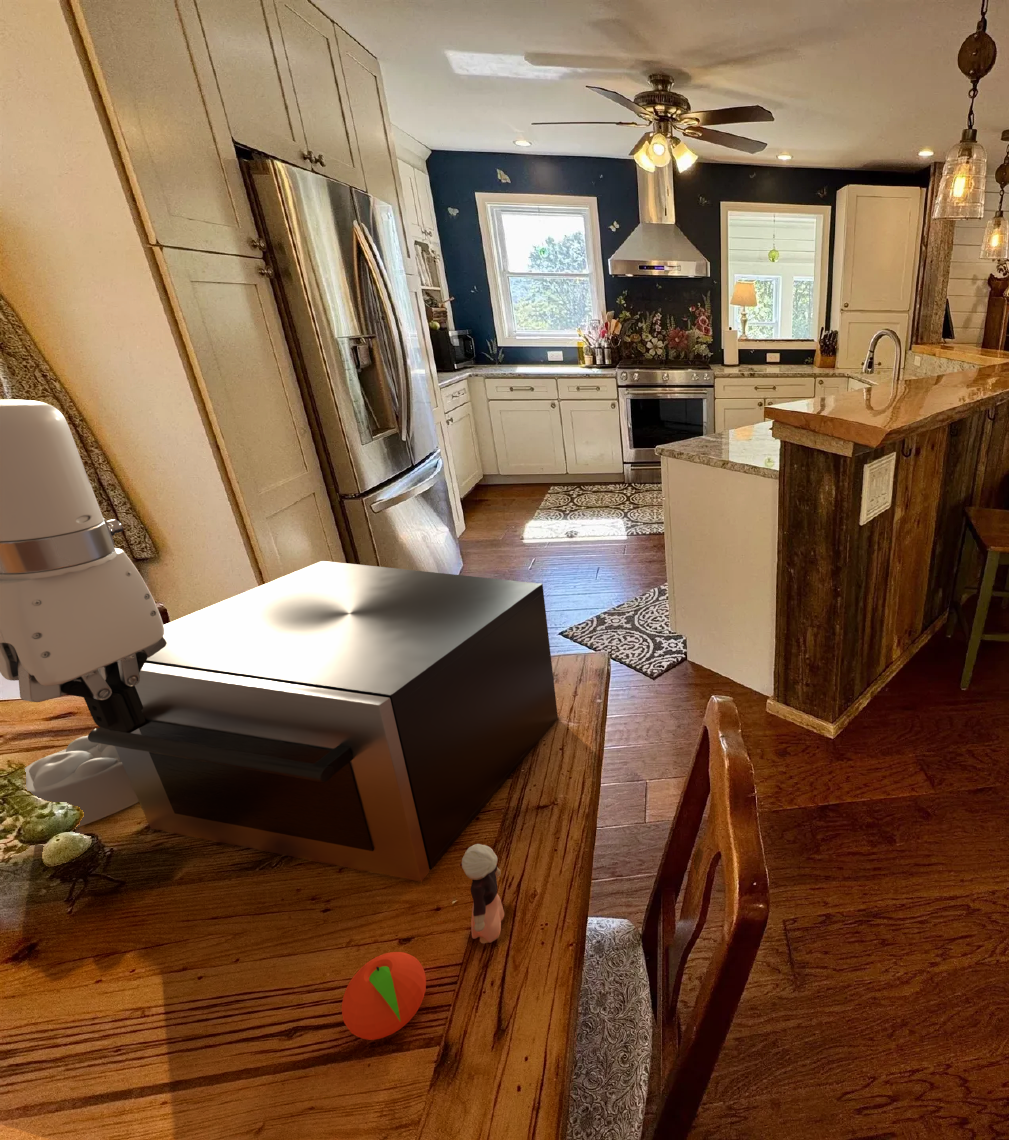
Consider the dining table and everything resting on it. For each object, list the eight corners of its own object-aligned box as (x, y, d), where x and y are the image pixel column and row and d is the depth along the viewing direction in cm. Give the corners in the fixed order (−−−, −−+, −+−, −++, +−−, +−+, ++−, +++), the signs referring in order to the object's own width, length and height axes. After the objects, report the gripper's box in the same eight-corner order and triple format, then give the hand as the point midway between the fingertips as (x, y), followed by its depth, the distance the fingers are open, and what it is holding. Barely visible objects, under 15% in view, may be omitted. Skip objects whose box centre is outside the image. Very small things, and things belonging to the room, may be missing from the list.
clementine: (448, 1023, 59) (436, 973, 56) (368, 1084, 54) (351, 1033, 51) (416, 968, 64) (403, 920, 61) (340, 1019, 59) (323, 970, 56)
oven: (432, 873, 75) (391, 695, 65) (167, 822, 81) (94, 653, 72) (558, 721, 104) (542, 583, 95) (356, 692, 111) (322, 560, 101)
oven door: (395, 916, 69) (345, 729, 60) (113, 857, 76) (28, 680, 66) (430, 874, 75) (390, 697, 65) (164, 822, 81) (93, 654, 72)
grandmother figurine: (475, 912, 70) (457, 828, 65) (510, 902, 71) (496, 819, 67) (471, 973, 64) (451, 885, 59) (510, 962, 65) (494, 874, 60)
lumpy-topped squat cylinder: (38, 807, 83) (11, 756, 80) (164, 759, 93) (145, 711, 90) (49, 844, 77) (21, 791, 74) (183, 788, 87) (163, 739, 84)
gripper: (114, 520, 60) (173, 680, 66) (-114, 575, 46) (-10, 770, 53) (177, 527, 59) (231, 689, 65) (-36, 585, 45) (60, 783, 52)
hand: (123, 724), depth 59 cm, fingers closed
